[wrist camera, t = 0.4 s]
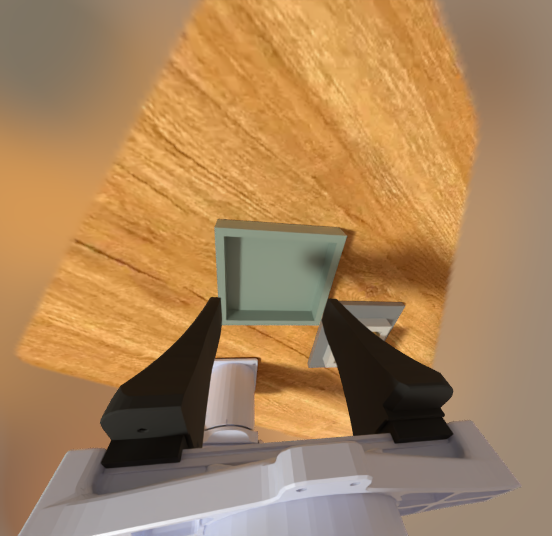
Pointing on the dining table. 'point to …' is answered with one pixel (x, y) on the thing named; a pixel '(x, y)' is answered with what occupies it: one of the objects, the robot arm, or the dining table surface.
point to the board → (369, 314)
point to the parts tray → (275, 271)
